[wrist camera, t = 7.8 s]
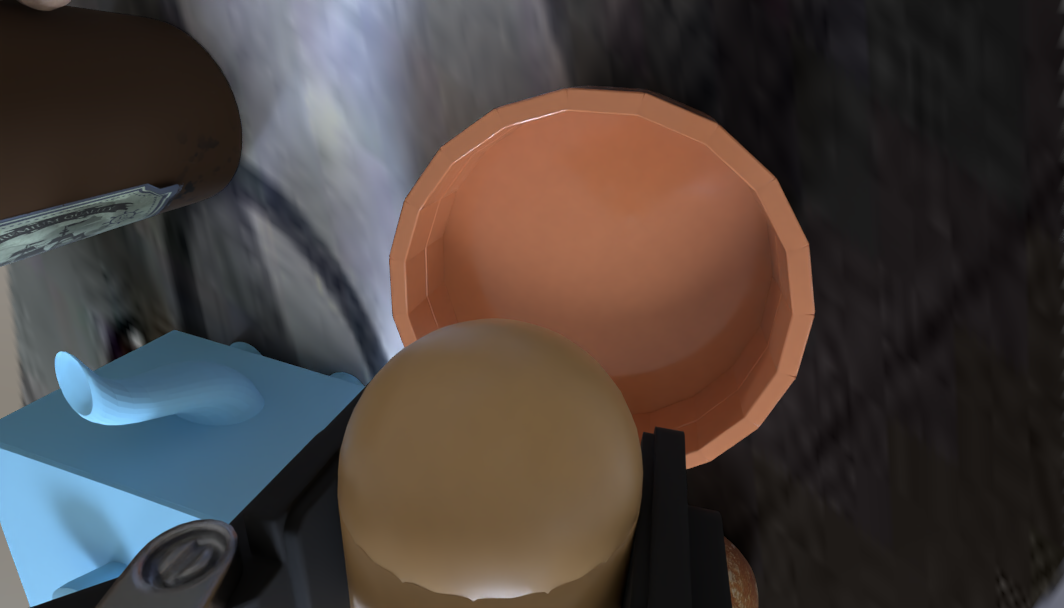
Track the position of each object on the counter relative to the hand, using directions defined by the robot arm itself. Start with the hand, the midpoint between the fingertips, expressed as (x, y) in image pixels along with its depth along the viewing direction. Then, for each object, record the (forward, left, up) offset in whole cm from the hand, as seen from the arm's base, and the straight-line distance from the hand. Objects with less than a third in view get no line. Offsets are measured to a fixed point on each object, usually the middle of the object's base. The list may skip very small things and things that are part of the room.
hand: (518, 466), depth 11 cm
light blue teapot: (+20, +15, -17) cm, 31 cm away
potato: (0, 0, 0) cm, 0 cm away
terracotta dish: (0, +2, -17) cm, 17 cm away
